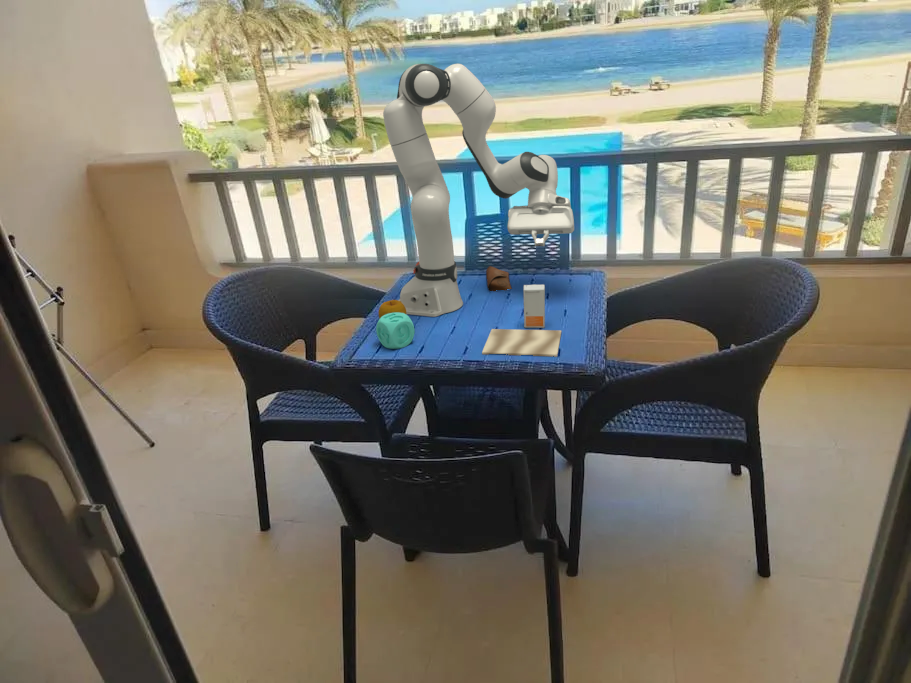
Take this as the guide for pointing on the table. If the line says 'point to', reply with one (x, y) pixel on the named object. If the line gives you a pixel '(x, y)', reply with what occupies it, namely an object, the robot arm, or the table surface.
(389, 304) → the apple
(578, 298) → the table surface
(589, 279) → the table surface
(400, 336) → the decorative dice
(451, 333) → the table surface
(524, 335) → the birch board
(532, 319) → the skincare box
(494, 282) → the sunglasses case
